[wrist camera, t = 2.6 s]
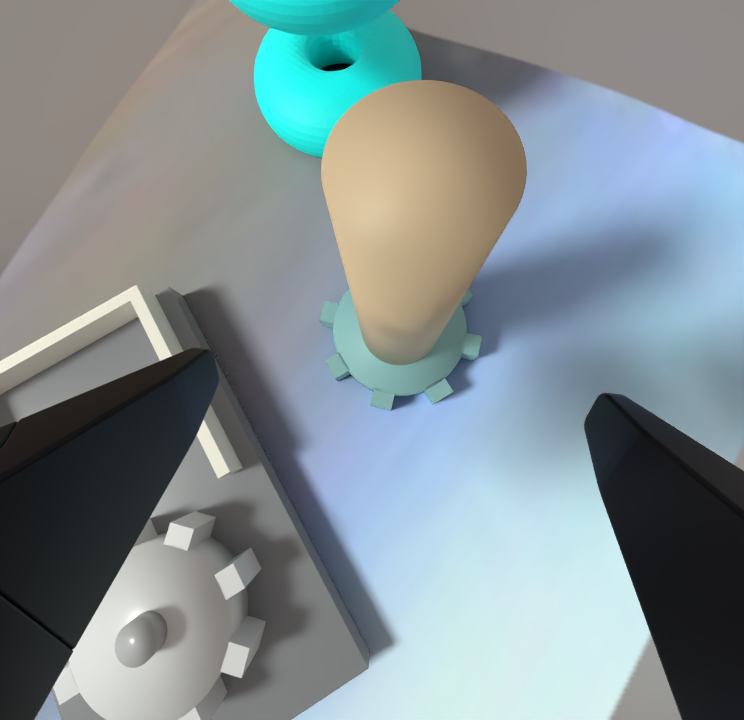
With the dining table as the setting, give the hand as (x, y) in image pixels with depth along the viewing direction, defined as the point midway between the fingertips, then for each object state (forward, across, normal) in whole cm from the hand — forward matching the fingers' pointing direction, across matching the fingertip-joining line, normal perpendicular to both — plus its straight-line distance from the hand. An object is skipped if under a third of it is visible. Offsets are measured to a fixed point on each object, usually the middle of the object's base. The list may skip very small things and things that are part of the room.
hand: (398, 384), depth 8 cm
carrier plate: (+2, +11, +13) cm, 17 cm away
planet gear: (+10, 0, +5) cm, 12 cm away
